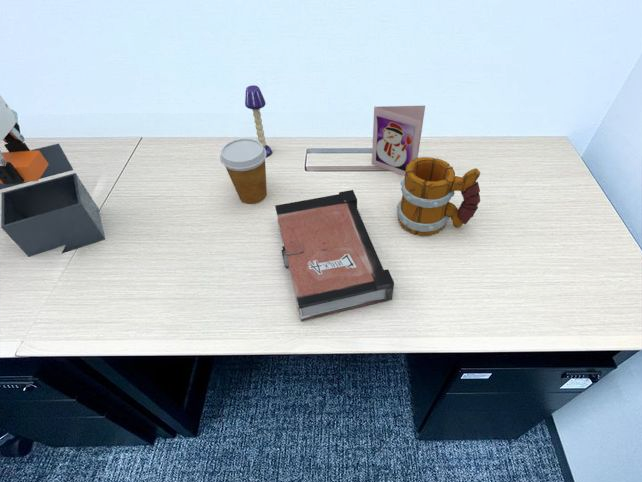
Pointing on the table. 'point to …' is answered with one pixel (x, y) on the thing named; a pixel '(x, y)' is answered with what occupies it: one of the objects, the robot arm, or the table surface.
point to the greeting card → (396, 136)
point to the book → (331, 256)
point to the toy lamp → (257, 112)
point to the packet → (27, 164)
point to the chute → (51, 216)
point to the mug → (435, 196)
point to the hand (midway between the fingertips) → (21, 171)
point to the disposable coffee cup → (246, 168)
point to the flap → (50, 162)
